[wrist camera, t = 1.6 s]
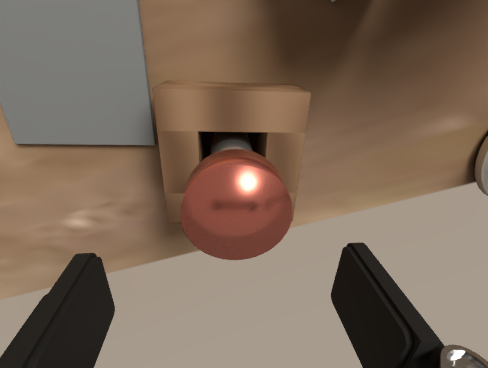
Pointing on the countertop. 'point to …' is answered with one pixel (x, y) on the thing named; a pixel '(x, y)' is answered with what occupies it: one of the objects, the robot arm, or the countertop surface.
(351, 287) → the robot arm
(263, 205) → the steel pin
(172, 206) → the eye block
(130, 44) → the rubber mat
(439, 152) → the countertop surface
